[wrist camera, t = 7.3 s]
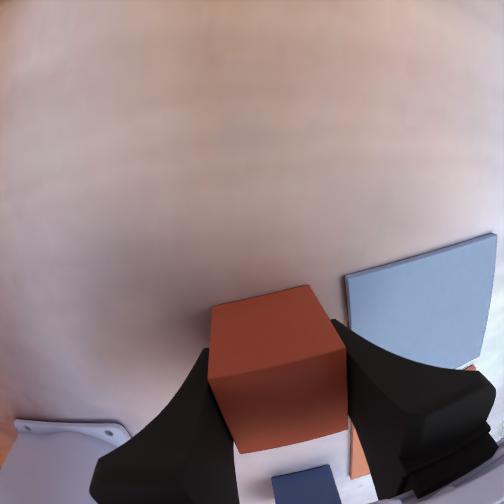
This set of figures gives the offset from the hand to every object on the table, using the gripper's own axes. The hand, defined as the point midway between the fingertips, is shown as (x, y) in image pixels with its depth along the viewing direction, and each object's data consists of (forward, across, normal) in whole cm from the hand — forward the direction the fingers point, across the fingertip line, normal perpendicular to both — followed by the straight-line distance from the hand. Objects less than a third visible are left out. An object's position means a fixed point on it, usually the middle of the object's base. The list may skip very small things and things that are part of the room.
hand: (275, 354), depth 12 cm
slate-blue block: (+1, 0, +14) cm, 14 cm away
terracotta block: (+1, 0, 0) cm, 1 cm away
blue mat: (+1, -8, +2) cm, 8 cm away
